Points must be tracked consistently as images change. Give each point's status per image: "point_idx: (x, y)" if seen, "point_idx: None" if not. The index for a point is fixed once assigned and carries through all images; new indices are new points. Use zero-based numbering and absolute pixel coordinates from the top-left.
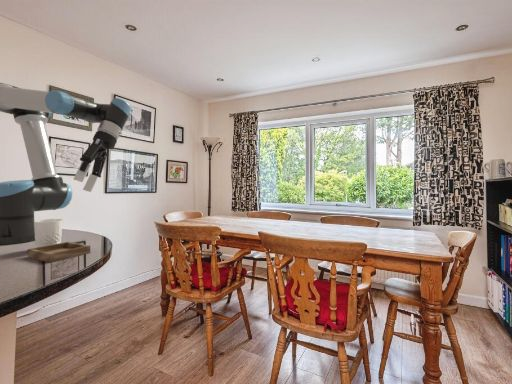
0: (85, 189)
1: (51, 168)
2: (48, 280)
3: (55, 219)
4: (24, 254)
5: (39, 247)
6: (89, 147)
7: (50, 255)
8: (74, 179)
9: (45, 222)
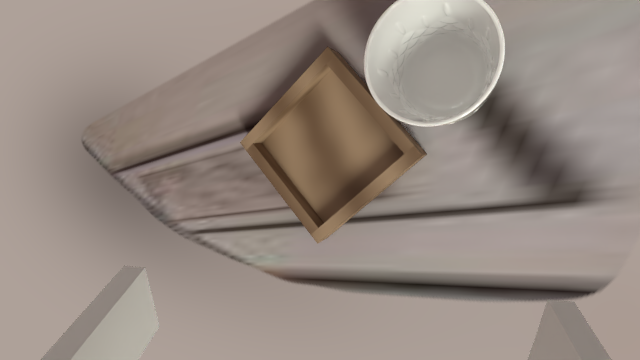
0: (546, 325)
1: None
2: (135, 172)
3: (494, 76)
4: None
5: (345, 76)
6: None
7: (241, 142)
8: (134, 272)
9: (364, 66)
